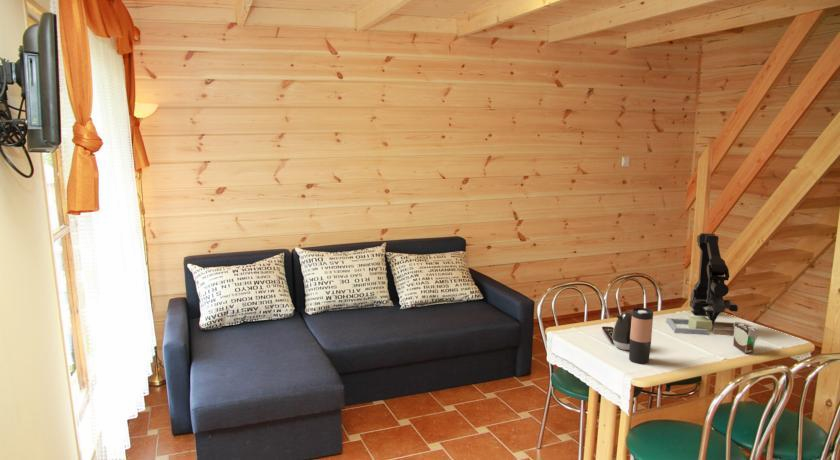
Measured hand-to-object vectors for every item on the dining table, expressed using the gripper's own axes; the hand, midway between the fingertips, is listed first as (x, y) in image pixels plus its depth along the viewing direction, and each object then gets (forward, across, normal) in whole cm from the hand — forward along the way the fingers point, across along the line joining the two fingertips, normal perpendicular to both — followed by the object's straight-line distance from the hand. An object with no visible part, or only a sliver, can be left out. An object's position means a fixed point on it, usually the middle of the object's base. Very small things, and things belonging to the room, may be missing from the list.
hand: (711, 324), depth 263 cm
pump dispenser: (+3, -43, -31) cm, 53 cm away
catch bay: (+2, -10, 0) cm, 10 cm away
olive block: (+2, -5, -1) cm, 6 cm away
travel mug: (+3, -40, -44) cm, 59 cm away
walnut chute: (+2, +7, 0) cm, 8 cm away
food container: (+3, +6, -24) cm, 25 cm away
